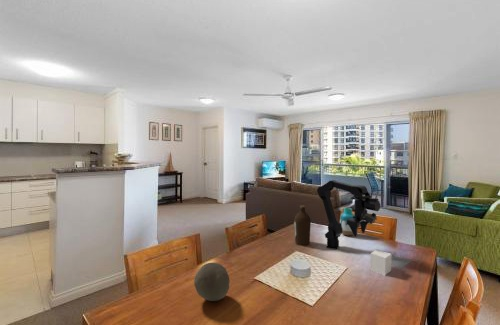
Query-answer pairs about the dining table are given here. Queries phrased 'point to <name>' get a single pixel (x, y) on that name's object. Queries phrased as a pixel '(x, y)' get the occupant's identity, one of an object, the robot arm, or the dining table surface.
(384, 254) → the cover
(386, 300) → the dining table surface
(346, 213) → the vase
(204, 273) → the dark grey ball
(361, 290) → the dining table surface
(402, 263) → the grey square tile
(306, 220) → the olive oil
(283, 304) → the dining table surface
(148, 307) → the dining table surface
